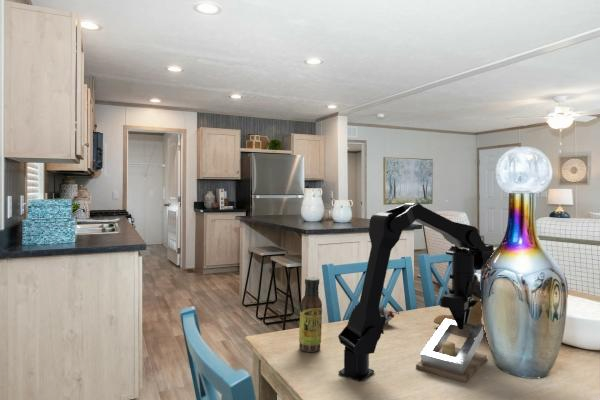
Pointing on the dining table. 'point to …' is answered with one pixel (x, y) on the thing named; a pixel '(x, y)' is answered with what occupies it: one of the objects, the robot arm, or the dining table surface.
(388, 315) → the sundae
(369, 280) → the robot arm
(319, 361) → the dining table surface
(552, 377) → the dining table surface
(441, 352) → the plate
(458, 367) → the steel link
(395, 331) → the dining table surface
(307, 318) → the sauce bottle
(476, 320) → the tan boot
